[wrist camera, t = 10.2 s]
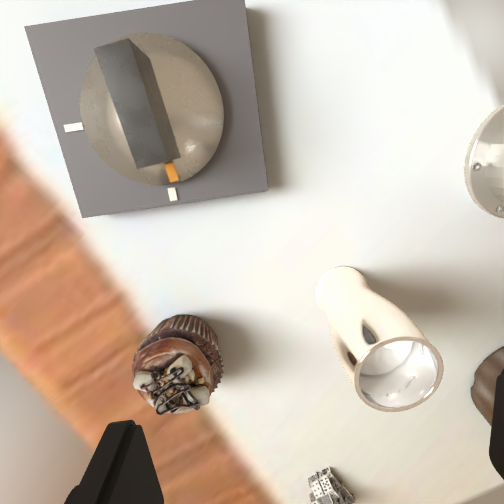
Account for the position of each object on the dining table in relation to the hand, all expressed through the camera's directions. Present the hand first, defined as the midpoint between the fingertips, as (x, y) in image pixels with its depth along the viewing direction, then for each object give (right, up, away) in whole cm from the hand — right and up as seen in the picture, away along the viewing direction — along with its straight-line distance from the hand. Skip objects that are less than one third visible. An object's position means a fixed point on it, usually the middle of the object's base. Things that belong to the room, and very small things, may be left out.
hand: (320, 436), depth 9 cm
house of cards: (+7, -29, +40) cm, 50 cm away
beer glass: (+8, 0, +30) cm, 31 cm away
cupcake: (-10, -6, +32) cm, 34 cm away
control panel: (-10, +18, +24) cm, 31 cm away
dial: (-10, +17, +21) cm, 29 cm away
